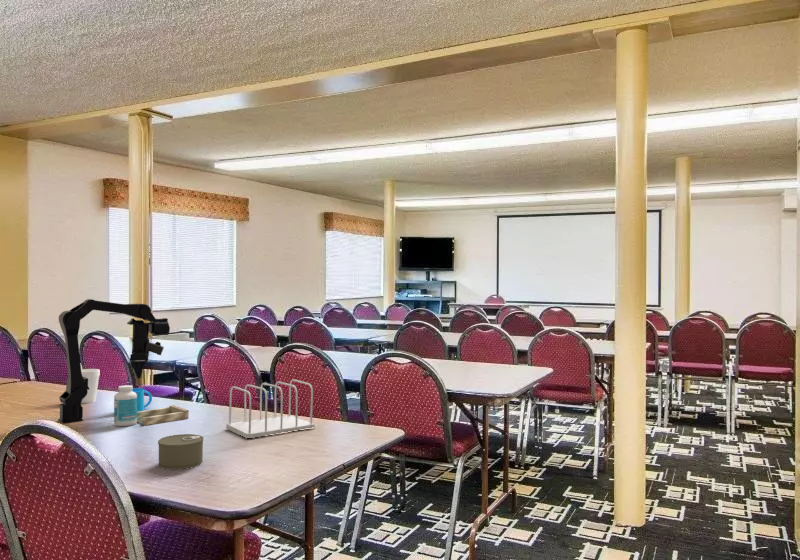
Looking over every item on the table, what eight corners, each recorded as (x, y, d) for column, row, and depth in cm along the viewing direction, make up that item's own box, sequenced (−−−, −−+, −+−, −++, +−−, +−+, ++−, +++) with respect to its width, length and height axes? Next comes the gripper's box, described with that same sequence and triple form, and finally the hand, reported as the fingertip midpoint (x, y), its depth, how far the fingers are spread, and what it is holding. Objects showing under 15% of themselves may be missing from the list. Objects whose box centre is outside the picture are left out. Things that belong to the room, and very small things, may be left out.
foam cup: (69, 402, 259) (69, 371, 259) (86, 398, 268) (86, 368, 268) (87, 404, 256) (88, 372, 256) (104, 400, 265) (104, 369, 265)
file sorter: (247, 440, 202) (248, 391, 202) (225, 430, 216) (226, 384, 216) (315, 429, 218) (315, 384, 218) (290, 420, 231) (290, 377, 231)
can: (150, 463, 176) (150, 439, 176) (191, 455, 184) (191, 432, 184) (169, 473, 167) (169, 447, 167) (211, 464, 176) (211, 439, 176)
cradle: (144, 425, 220) (144, 416, 220) (129, 419, 229) (129, 411, 229) (188, 418, 232) (188, 410, 232) (173, 413, 241) (173, 405, 241)
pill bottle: (141, 422, 225) (141, 385, 224) (127, 427, 217) (127, 388, 217) (123, 421, 227) (124, 383, 227) (109, 426, 219) (109, 387, 219)
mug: (127, 414, 239) (127, 392, 239) (117, 411, 244) (117, 390, 244) (157, 409, 248) (157, 388, 248) (146, 406, 253) (146, 386, 253)
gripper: (162, 338, 237) (161, 379, 236) (162, 334, 254) (161, 372, 254) (130, 338, 233) (129, 380, 232) (132, 334, 250) (131, 373, 250)
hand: (139, 376), depth 242 cm, fingers open, 9 cm apart
